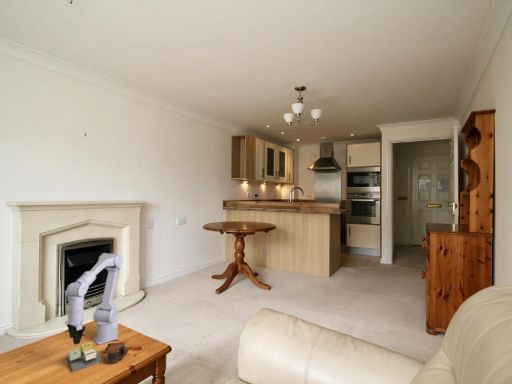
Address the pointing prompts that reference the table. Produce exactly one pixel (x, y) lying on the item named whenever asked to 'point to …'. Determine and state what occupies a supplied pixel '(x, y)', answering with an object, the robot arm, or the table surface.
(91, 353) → the tile three ivory
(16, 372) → the table surface
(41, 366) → the table surface
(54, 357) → the table surface
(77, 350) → the tile one sage
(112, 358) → the pottery mug
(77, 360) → the slate board
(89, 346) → the tile two mustard
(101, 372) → the table surface
